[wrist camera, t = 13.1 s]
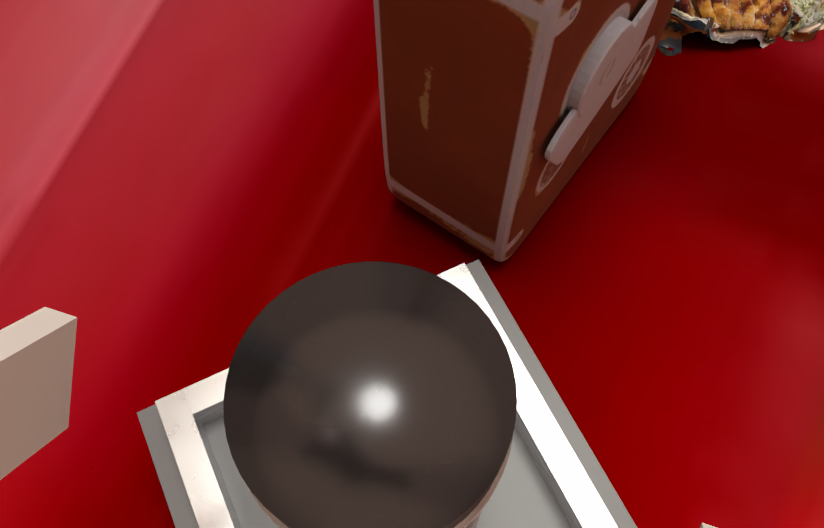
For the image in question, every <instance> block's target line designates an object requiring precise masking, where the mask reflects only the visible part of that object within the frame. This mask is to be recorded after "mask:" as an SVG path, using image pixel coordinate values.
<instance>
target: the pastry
mask: <svg viewBox="0 0 824 528" xmlns="http://www.w3.org/2000/svg"><path fill="white" fill-rule="evenodd" d="M822 29H824V0H676V2H675V4H674V6H673V9H672V11H671V14H670V16H669V19H668V21H667V24H666V26H665V29H664V31H663V34H662V37H661V39H660V41H659V43H658V46H657V47H658V48H659V50H660V51H661V52H662V53H663V54H664V55H667V56H673V55H676V53H681V52H682V44H681V43H682V35H684V36H685V35H687V34H688V33H694V32H697V31H701V32H702V33H703V34H707V36H706V37H711V39H712V40H715V41H719V42H721V43H732V44H733V43H735V42H736V41H738V40H740V39H754V38H757V39H758V40H759V41H760V47H762V48H764V47H766V46H767V45H769V44H770V43H774V42H775V40H776V36H781V37H782V38H783V39H785V40H787V41H809V40H812V39H813V38H814V37H815V35H816V34H817V32H818V31H819V30H822ZM668 47H671V48H674V51H670V50H668ZM654 55H655V53H654ZM654 55H653V56H654Z"/></svg>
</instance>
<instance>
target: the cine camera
mask: <svg viewBox="0 0 824 528" xmlns="http://www.w3.org/2000/svg"><path fill="white" fill-rule="evenodd" d="M675 2H676V0H374V15H375V30H376V46H377V61H378V77H379V92H380V108H381V123H382V139H383V151H384V163H385V172H386V177H387V183H388V188H389V189H390V191H391V192H392V193H393V194H394V196H395V197H396V198H398V199H399V200H400V201H402V202H403V203H405V204H406V205H408V206H409V207H411V208H413V209H414V210H416V211H417V212H419V213H420V214H422V215H423V216H425V217H427V218H428V219H430V220H431V221H433V222H434V223H436V224H438V225H439V226H441V227H442V228H444V229H445V230H447V231H449V232H450V233H452V234H453V235H455V236H456V237H458V238H460V239H461V240H463V241H464V242H466V243H467V244H469V245H470V246H472V247H474V248H475V249H477V250H478V251H480V252H482V253H483V254H485V255H487V256H488V257H490V258H492V259H494V260H496V261H500V262H503V261H505V260H507V259H508V258H509V257H510V256H512V254H513V253H514V252H515V251H516V250H517V248H518V247H519V246H520V245H521V243H522V242H523V241H524V240H525V238H526V237H527V236H528V234H529V233H530V232H531V230H532V229H533V228H534V226H535V225H536V224H537V222H538V221H539V220H540V218H541V217H542V216H543V214H544V213H545V212H546V211H547V209H548V208H549V207H550V205H551V204H552V203H553V201H554V200H555V199H556V197H557V196H558V195H559V193H560V192H561V191H562V189H563V188H564V187H565V185H566V184H567V183H568V182H569V180H570V179H571V178H572V176H573V175H574V174H575V172H576V171H577V170H578V168H579V167H580V166H581V164H582V163H583V162H584V160H585V159H586V158H587V156H588V155H589V154H590V153H591V151H592V150H593V149H594V147H595V146H596V145H597V143H598V142H599V141H600V139H601V138H602V137H603V135H604V134H605V133H606V131H607V130H608V129H609V127H610V126H611V125H612V124H613V122H614V121H615V120H616V118H617V117H618V116H619V114H620V113H621V112H622V110H623V109H624V108H625V106H626V105H627V104H628V102H629V101H630V99H631V98H632V96H633V95H634V93H635V92H636V90H637V88H638V87H639V85H640V83H641V81H642V79H643V78H644V76H645V73H646V71H647V69H648V67H649V64H650V62H651V60H652V57H653V55H654V53H655V51H656V48H657V46H658V43H659V41H660V38H661V36H662V34H663V31H664V29H665V26H666V24H667V21H668V19H669V16H670V14H671V11H672V9H673V6H674V4H675Z"/></svg>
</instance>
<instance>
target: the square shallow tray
mask: <svg viewBox="0 0 824 528" xmlns="http://www.w3.org/2000/svg"><path fill="white" fill-rule="evenodd" d="M466 266H467V268H468V270H469V272H470V273H471V275H472V277H473V278H474V280H475V282H476V284H477V285H478V287H479V289H480V290H481V292H482V294H483V296H484V297H485V299H486V301H487V303H488V304H489V306H490V308H491V309H492V311H493V313H494V315H495V316H496V318H497V320H498V322H499V323H500V325H501V327H502V328H503V330H504V332H505V334H506V335H507V337H508V339H509V341H510V342H511V344H512V346H513V347H514V349H515V351H516V353H517V354H518V356H519V358H520V359H521V361H522V363H523V365H524V366H525V368H526V370H527V372H528V373H529V375H530V377H531V378H532V380H533V382H534V384H535V385H536V387H537V389H538V391H539V392H540V394H541V396H542V397H543V399H544V401H545V403H546V404H547V406H548V408H549V410H550V411H551V413H552V415H553V416H554V418H555V420H556V422H557V423H558V425H559V427H560V429H561V430H562V432H563V434H564V435H565V437H566V439H567V441H568V442H569V444H570V446H571V447H572V449H573V451H574V453H575V454H576V456H577V458H578V460H579V461H580V463H581V465H582V466H583V468H584V470H585V472H586V473H587V475H588V477H589V479H590V480H591V482H592V484H593V485H594V487H595V489H596V491H597V492H598V494H599V496H600V498H601V499H602V501H603V503H604V504H605V506H606V508H607V510H608V511H609V513H610V515H611V516H612V518H613V520H614V522H615V523H616V525H617V527H618V528H637V527H636V525H635V523H634V521H633V520H632V518H631V516H630V515H629V513H628V511H627V510H626V508H625V506H624V505H623V503H622V501H621V499H620V498H619V496H618V494H617V493H616V491H615V489H614V488H613V486H612V484H611V483H610V481H609V479H608V477H607V476H606V474H605V472H604V471H603V469H602V467H601V466H600V464H599V462H598V460H597V459H596V457H595V455H594V454H593V452H592V450H591V449H590V447H589V445H588V444H587V442H586V440H585V438H584V437H583V435H582V433H581V432H580V430H579V428H578V427H577V425H576V423H575V421H574V420H573V418H572V416H571V415H570V413H569V411H568V410H567V408H566V406H565V405H564V403H563V401H562V399H561V398H560V396H559V394H558V393H557V391H556V389H555V388H554V386H553V384H552V383H551V381H550V379H549V377H548V376H547V374H546V372H545V371H544V369H543V367H542V366H541V364H540V362H539V360H538V359H537V357H536V355H535V354H534V352H533V350H532V349H531V347H530V345H529V344H528V342H527V340H526V338H525V337H524V335H523V333H522V332H521V330H520V328H519V327H518V325H517V323H516V322H515V320H514V318H513V316H512V315H511V313H510V311H509V310H508V308H507V306H506V305H505V303H504V301H503V299H502V298H501V296H500V294H499V293H498V291H497V289H496V288H495V286H494V284H493V283H492V281H491V279H490V277H489V276H488V274H487V272H486V271H485V269H484V267H483V266H482V264H481V262H480V260H479V259H478V260H476V261H474V262H471V263H469V264H467V265H466ZM137 415H138V418H139V421H140V424H141V427H142V430H143V432H144V435H145V438H146V441H147V444H148V447H149V450H150V453H151V456H152V459H153V462H154V465H155V468H156V471H157V474H158V477H159V480H160V483H161V486H162V489H163V492H164V495H165V497H166V500H167V503H168V506H169V509H170V512H171V515H172V518H173V521H174V524H175V527H176V528H199V525H198V522H197V519H196V516H195V513H194V511H193V508H192V505H191V502H190V499H189V496H188V493H187V491H186V488H185V485H184V482H183V479H182V476H181V474H180V471H179V468H178V465H177V462H176V459H175V456H174V454H173V451H172V448H171V445H170V442H169V439H168V437H167V434H166V431H165V428H164V425H163V422H162V419H161V417H160V414H159V411H158V408H157V405H156V404H155V405H153V406H151V407H148V408H146V409H144V410H142V411H139V412H137ZM203 426H204V429H205V432H206V434H207V437H208V440H209V442H210V445H211V448H212V450H213V453H214V456H215V458H216V461H217V464H218V466H219V469H220V472H221V474H222V477H223V480H224V482H225V485H226V488H227V490H228V493H229V496H230V498H231V501H232V504H233V506H234V509H235V512H236V514H237V517H238V520H239V522H240V525H241V528H280V527H279V526H278V525H277V524H275V523H274V522H273V521H272V520H271V519H270V517H269V516H268V515H267V514H266V513H265V512H264V511H263V509H262V508H261V507H260V506H259V504H258V503H257V501H256V500H255V498H254V497H253V495H252V494H251V492H250V490H249V488H248V486H247V485H246V483H245V482H244V480H243V478H242V477H241V475H240V473H239V471H238V469H237V467H236V465H235V463H234V460H233V458H232V455H231V452H230V449H229V445H228V442H227V438H226V432H225V426H224V416H223V417H220V418H218V419H216V420H214V421H212V422H210V423H207V424H205V425H203ZM475 528H571V527H570V525H569V523H568V521H567V519H566V518H565V516H564V514H563V512H562V510H561V509H560V507H559V505H558V503H557V501H556V500H555V498H554V496H553V494H552V492H551V491H550V489H549V487H548V485H547V483H546V481H545V480H544V478H543V476H542V474H541V472H540V471H539V469H538V467H537V465H536V463H535V462H534V460H533V458H532V456H531V454H530V453H529V451H528V449H527V447H526V445H525V444H524V442H523V440H522V438H521V436H520V435H519V433H518V431H517V429H516V427H514V432H513V440H512V445H511V450H510V454H509V458H508V461H507V464H506V467H505V469H504V472H503V475H502V477H501V479H500V481H499V483H498V485H497V486H496V488H495V490H494V492H493V494H492V496H491V498H490V499H489V501H488V502H487V504H486V505H485V506H484V508H483V509H482V511H481V513H480V517H479V519H478V522H477V525H476V527H475Z"/></svg>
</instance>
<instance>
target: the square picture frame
mask: <svg viewBox="0 0 824 528" xmlns="http://www.w3.org/2000/svg"><path fill="white" fill-rule="evenodd" d="M437 276H439V277H440V278H442V279H444V280H446V281H448V282H450V283H451V284H453V285H454V286H456V287H457V288H459V289H460V290H462V291H463V292H464V293H466V294H467V295H468V296H469V297H470V298H471V299H472V300H473V301H474V302H476V303H477V304H478V305H479V307H480V308H481V309H482V310H483V311H484V312H485V313H486V315H487V316H488V317H489V318H490V320H491V321H492V323H493V324H494V326H495V327H496V329H497V330H498V332H499V334H500V336H501V338H502V340H503V342H504V344H505V346H506V348H507V351H508V354H509V356H510V359H511V362H512V365H513V370H514V375H515V381H516V390H517V412H516V422H515V427H516V429H517V431H518V433H519V435H520V436H521V438H522V440H523V442H524V444H525V445H526V447H527V449H528V451H529V453H530V454H531V456H532V458H533V460H534V462H535V463H536V465H537V467H538V469H539V471H540V472H541V474H542V476H543V478H544V480H545V481H546V483H547V485H548V487H549V489H550V491H551V492H552V494H553V496H554V498H555V500H556V501H557V503H558V505H559V507H560V509H561V510H562V512H563V514H564V516H565V518H566V519H567V521H568V523H569V525H570V527H571V528H618V527H617V525H616V523H615V522H614V520H613V518H612V516H611V515H610V513H609V511H608V510H607V508H606V506H605V504H604V503H603V501H602V499H601V498H600V496H599V494H598V492H597V491H596V489H595V487H594V485H593V484H592V482H591V480H590V479H589V477H588V475H587V473H586V472H585V470H584V468H583V466H582V465H581V463H580V461H579V460H578V458H577V456H576V454H575V453H574V451H573V449H572V447H571V446H570V444H569V442H568V441H567V439H566V437H565V435H564V434H563V432H562V430H561V429H560V427H559V425H558V423H557V422H556V420H555V418H554V416H553V415H552V413H551V411H550V410H549V408H548V406H547V404H546V403H545V401H544V399H543V397H542V396H541V394H540V392H539V391H538V389H537V387H536V385H535V384H534V382H533V380H532V378H531V377H530V375H529V373H528V372H527V370H526V368H525V366H524V365H523V363H522V361H521V359H520V358H519V356H518V354H517V353H516V351H515V349H514V347H513V346H512V344H511V342H510V341H509V339H508V337H507V335H506V334H505V332H504V330H503V328H502V327H501V325H500V323H499V322H498V320H497V318H496V316H495V315H494V313H493V311H492V309H491V308H490V306H489V304H488V303H487V301H486V299H485V297H484V296H483V294H482V292H481V290H480V289H479V287H478V285H477V284H476V282H475V280H474V278H473V277H472V275H471V273H470V272H469V270H468V268H467V266H466V265H465V263H463V264H460V265H458V266H456V267H454V268H451V269H449V270H447V271H445V272H443V273H440V274H438V275H437ZM228 371H229V368H228V369H226V370H224V371H222V372H219V373H217V374H215V375H213V376H210V377H208V378H206V379H204V380H201V381H199V382H197V383H195V384H193V385H190V386H188V387H186V388H184V389H181V390H179V391H177V392H175V393H172V394H170V395H168V396H166V397H164V398H161V399H159V400H157V401H155V402H156V405H157V408H158V411H159V414H160V417H161V419H162V422H163V425H164V428H165V431H166V434H167V437H168V439H169V442H170V445H171V448H172V451H173V454H174V456H175V459H176V462H177V465H178V468H179V471H180V474H181V476H182V479H183V482H184V485H185V488H186V491H187V493H188V496H189V499H190V502H191V505H192V508H193V511H194V513H195V516H196V519H197V522H198V525H199V528H241V525H240V522H239V520H238V517H237V514H236V512H235V509H234V506H233V504H232V501H231V498H230V496H229V493H228V490H227V488H226V485H225V482H224V480H223V477H222V474H221V472H220V469H219V466H218V464H217V461H216V458H215V456H214V453H213V450H212V448H211V445H210V442H209V440H208V437H207V434H206V432H205V429H204V426H203V425H205V424H207V423H210V422H212V421H214V420H216V419H218V418H220V417H223V416H224V410H223V400H224V391H225V383H226V379H227V375H228Z"/></svg>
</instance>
